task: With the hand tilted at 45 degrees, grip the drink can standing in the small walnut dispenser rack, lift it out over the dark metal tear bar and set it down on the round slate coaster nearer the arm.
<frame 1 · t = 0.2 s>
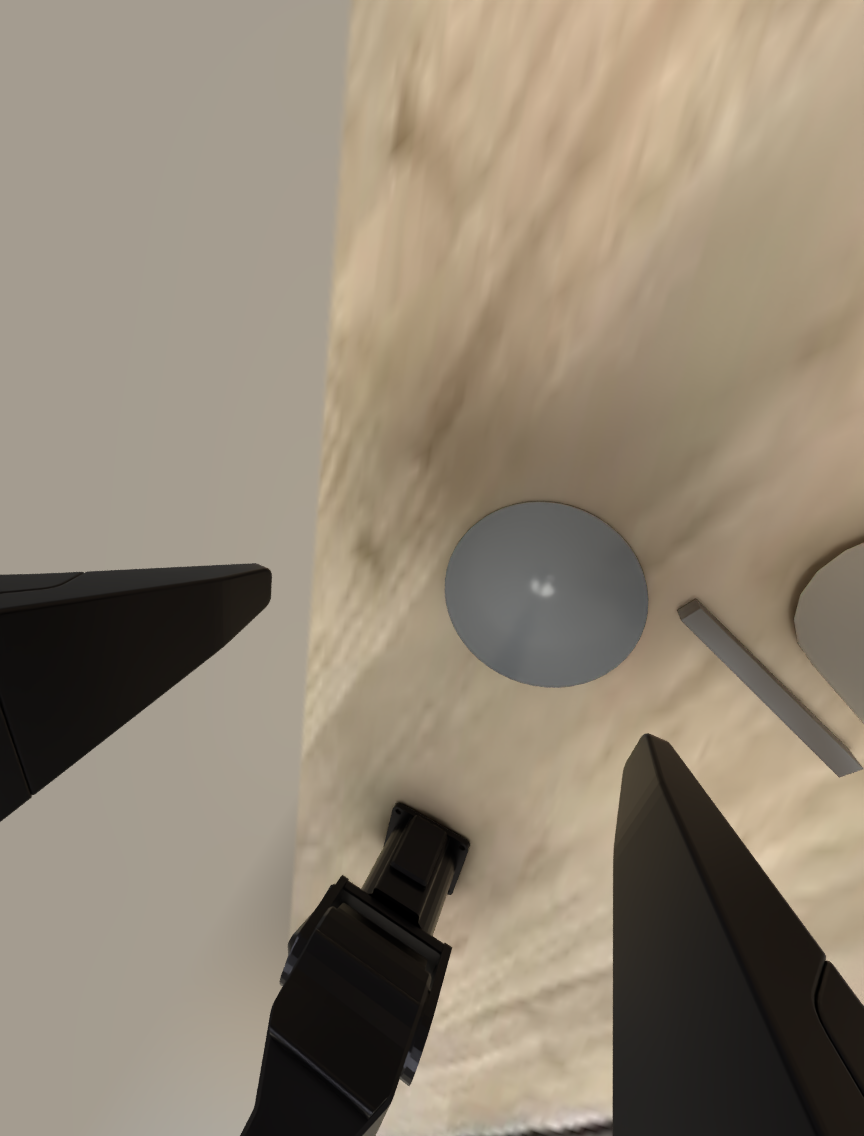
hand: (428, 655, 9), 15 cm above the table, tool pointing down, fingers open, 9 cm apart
coaster: (537, 598, 23), on the table
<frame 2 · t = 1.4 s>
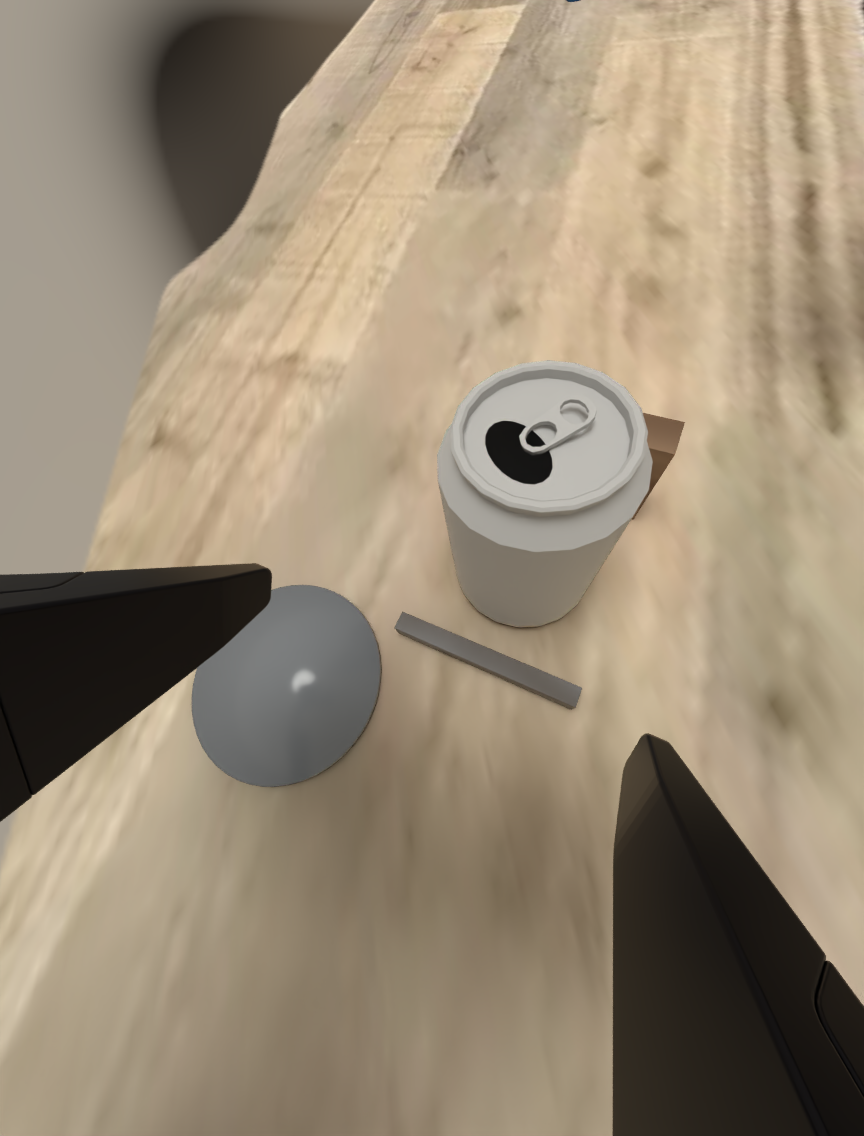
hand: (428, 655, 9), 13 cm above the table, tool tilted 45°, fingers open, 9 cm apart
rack: (520, 569, 24), on the table
coaster: (287, 677, 23), on the table
can: (520, 571, 24), on the table
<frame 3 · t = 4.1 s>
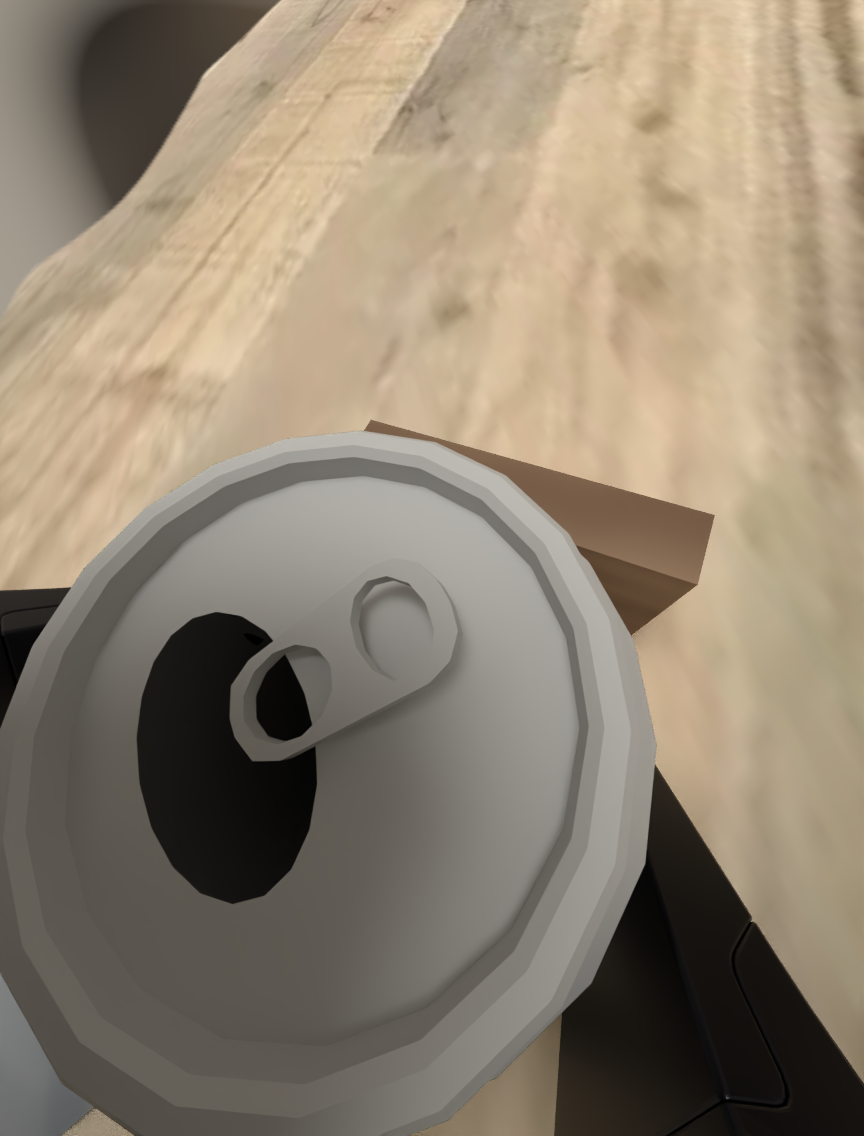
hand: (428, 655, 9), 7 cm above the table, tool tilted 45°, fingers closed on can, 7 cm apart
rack: (437, 727, 15), on the table
coaster: (43, 916, 14), on the table
can: (438, 727, 15), on the table, touching gripper
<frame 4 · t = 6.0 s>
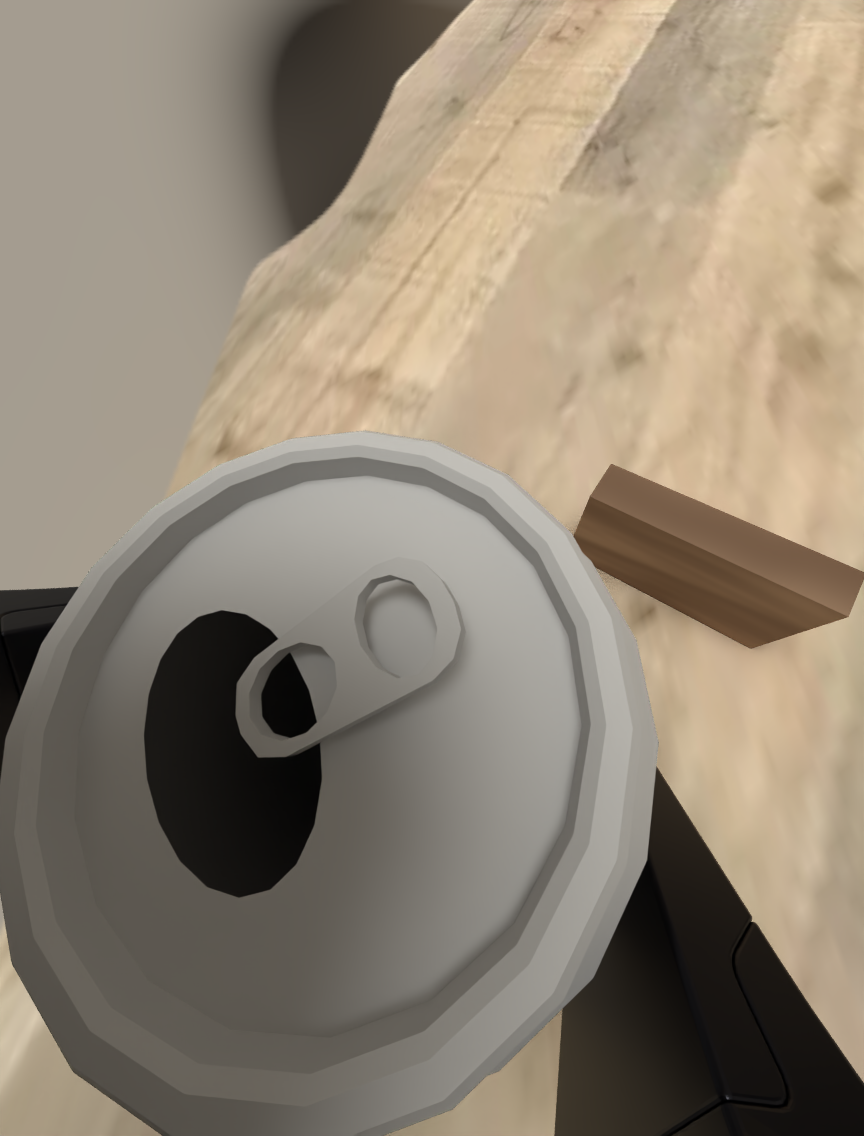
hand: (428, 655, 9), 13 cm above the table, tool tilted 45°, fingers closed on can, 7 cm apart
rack: (603, 683, 20), on the table
can: (440, 726, 15), point 6 cm above the table, touching gripper
when the fingers open (8 cm above the table, at t = 8.0 s): can stays where it is, resting on coaster.
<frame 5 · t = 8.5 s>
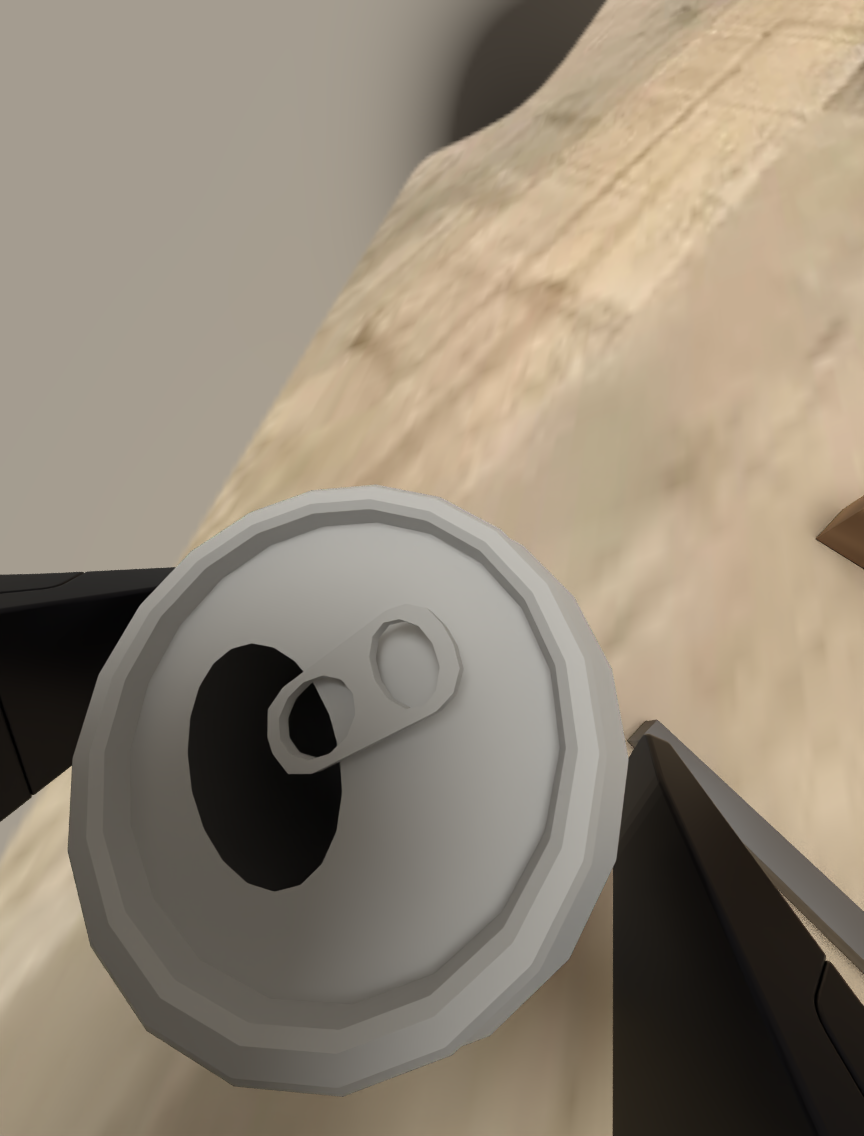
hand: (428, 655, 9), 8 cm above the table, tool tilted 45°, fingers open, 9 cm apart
can: (439, 732, 16), resting on coaster
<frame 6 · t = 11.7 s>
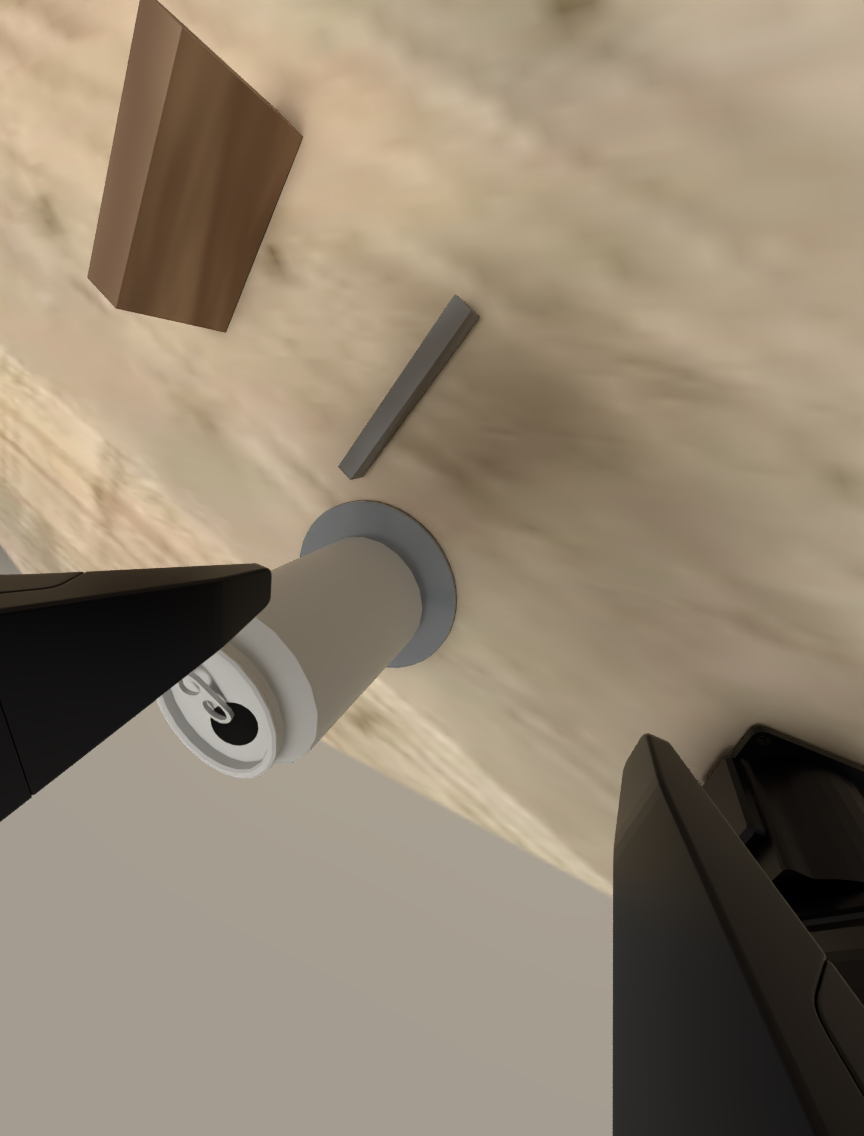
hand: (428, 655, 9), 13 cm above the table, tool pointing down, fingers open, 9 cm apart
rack: (330, 320, 21), on the table
coaster: (374, 587, 25), on the table
can: (374, 589, 25), resting on coaster
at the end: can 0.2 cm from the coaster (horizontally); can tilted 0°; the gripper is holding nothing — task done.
